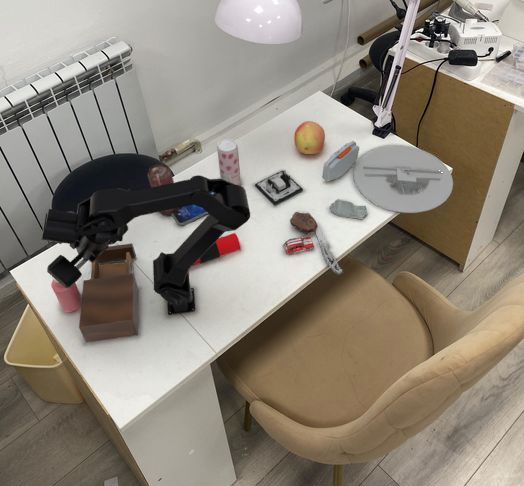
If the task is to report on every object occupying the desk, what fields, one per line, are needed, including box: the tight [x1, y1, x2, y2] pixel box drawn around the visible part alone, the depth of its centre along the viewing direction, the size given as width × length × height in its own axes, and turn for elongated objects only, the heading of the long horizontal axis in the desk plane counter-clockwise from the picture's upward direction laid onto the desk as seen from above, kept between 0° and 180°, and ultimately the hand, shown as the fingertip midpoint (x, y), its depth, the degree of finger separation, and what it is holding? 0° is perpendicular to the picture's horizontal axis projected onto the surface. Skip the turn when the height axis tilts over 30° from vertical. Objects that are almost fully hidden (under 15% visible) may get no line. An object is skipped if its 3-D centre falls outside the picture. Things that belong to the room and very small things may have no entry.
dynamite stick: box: [192, 232, 242, 267], centre depth 140 cm, size 5×5×20 cm
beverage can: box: [216, 138, 242, 186], centre depth 155 cm, size 6×6×15 cm
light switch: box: [254, 170, 304, 206], centre depth 157 cm, size 10×4×10 cm
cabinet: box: [78, 273, 140, 343], centre depth 128 cm, size 13×12×7 cm
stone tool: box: [329, 198, 368, 220], centre depth 151 cm, size 10×2×5 cm
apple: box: [293, 120, 326, 155], centre depth 167 cm, size 10×10×10 cm
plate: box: [353, 144, 454, 214], centre depth 160 cm, size 28×28×1 cm
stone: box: [289, 211, 318, 235], centre depth 147 cm, size 7×7×3 cm
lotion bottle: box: [50, 276, 82, 313], centre depth 129 cm, size 5×5×12 cm
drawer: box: [90, 242, 137, 279], centre depth 136 cm, size 13×10×5 cm
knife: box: [315, 223, 343, 276], centre depth 142 cm, size 2×18×3 cm
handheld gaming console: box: [321, 140, 360, 182], centre depth 160 cm, size 14×3×8 cm, turn 136°
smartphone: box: [170, 192, 217, 227], centre depth 154 cm, size 7×1×15 cm
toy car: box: [282, 236, 315, 256], centre depth 142 cm, size 4×8×3 cm, turn 105°
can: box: [147, 163, 179, 216], centre depth 149 cm, size 6×6×14 cm
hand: (83, 258), depth 126 cm, fingers open, 9 cm apart
